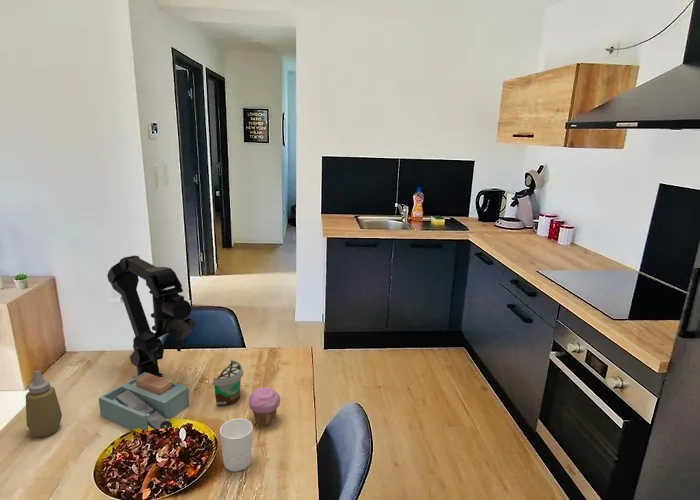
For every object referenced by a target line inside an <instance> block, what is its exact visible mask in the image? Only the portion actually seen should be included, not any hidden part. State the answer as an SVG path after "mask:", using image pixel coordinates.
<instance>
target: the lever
mask: <svg viewBox="0 0 700 500" xmlns="http://www.w3.org/2000/svg"><path fill="white" fill-rule="evenodd" d="M115 400H117V401H118V402H119V403H121V404H122V405H125V406H127V407H129V408H132V409H134V410H137V411H139V412H142V413H144V414H146V415H147V423H148V425H149V426H150V427H151V428H153V429H154V431H155V430H156V429H160V428H161V429H162V428H169V427H172V424H173V423H172V422H171V421H170V420H167V419H166V418H164V417H163V416H162V415H160V414H159V413H158V412H157V411H156V410H155V409H153V408H151V407H150V406H149V405H147V404H146V403H145V402H143V401H142V400H141V399H139V398H138V397H137V396H135V395H134V394H133V393H131V392H130V391H129V390H127V391H125V392H123V393H122V394H120V395H118V396H116V399H115Z"/></svg>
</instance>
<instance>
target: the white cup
mask: <svg viewBox="0 0 700 500" xmlns="http://www.w3.org/2000/svg"><path fill="white" fill-rule="evenodd" d="M253 429H254V428H253V423H252V422H251V421H250V420H249V419H246V418H233V419H229V420H227V421H225V422H224V423H223V424H222V425H221V426H220V428H219V433H220V434H219V435H220V437H219V438H220V445H221V446H220V447H221V454H222V460H223V461H222V463H223V465H224V468H225V469H227V470H228V471H229V472H239V471H243V470H245V469H247V468H248V467H249V466H250V464H251V462H252V451H253V435H254V434H253V432H254V431H253Z"/></svg>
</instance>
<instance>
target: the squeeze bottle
mask: <svg viewBox="0 0 700 500" xmlns="http://www.w3.org/2000/svg"><path fill="white" fill-rule="evenodd" d="M25 410H26V411H25V413H26V414H25V415H26V416H25V417H26V419H25V420H26V426H27V428H28V429H29V431H30V432H31V433H32V435H33V436H34V437H35V438H36V437H37V438H42V437H47V436H51V435H52V434H55V432H57V431H58V430H59V428H60V425H61V421H62V418H63V414H62V410H61V407H60V403H59V400H58V396H57V393H56V390H55V387H54V386H51V384H50V380H48V379H44V377H43V375H42V373H41V370H39V369H38V370H34V372H33V380H32V382H30V383H29V385H28V392H27V393H26V394H25Z"/></svg>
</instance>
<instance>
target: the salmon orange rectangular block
mask: <svg viewBox="0 0 700 500" xmlns="http://www.w3.org/2000/svg"><path fill="white" fill-rule="evenodd" d="M172 382H173V381H172V380H169V379H166V378H163V377H162V376H161V377H158V376H155V375H152V374H150V373H147V374H145V375H143V376H141V377H140V378H138V379H136V387H139V388H141V389H144V390H146V391H149V392H152V393H154V394H157V395H159V396H160V395H162V394H163V393H165V392H166V391H168V390H170V389H171V388H172Z"/></svg>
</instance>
